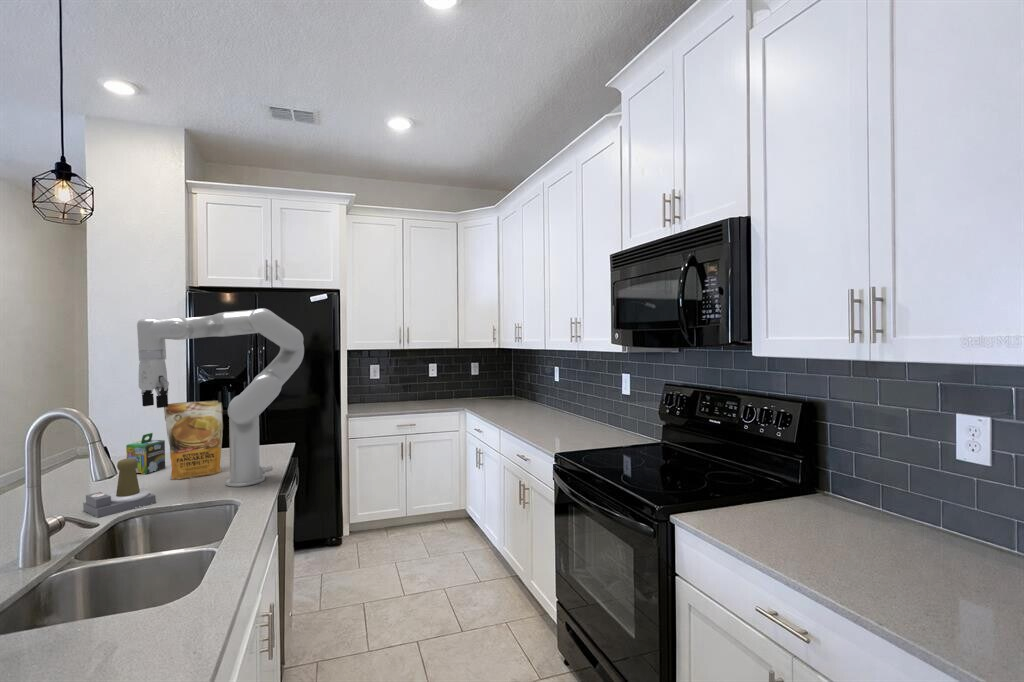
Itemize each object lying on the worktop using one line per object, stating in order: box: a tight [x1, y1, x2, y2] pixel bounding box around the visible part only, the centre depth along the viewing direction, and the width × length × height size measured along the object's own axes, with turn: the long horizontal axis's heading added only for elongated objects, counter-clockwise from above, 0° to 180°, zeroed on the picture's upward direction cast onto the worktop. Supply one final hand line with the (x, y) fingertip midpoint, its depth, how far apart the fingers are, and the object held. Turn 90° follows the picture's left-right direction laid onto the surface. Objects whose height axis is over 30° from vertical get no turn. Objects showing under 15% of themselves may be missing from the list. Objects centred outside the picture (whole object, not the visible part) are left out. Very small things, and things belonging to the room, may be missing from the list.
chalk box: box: [125, 432, 166, 475], centre depth 199 cm, size 9×9×15 cm
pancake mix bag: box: [163, 399, 224, 480], centre depth 192 cm, size 7×19×28 cm, turn 126°
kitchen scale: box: [82, 488, 157, 518], centre depth 157 cm, size 15×11×5 cm
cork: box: [115, 458, 140, 497], centre depth 159 cm, size 6×6×11 cm
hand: (155, 406), depth 170 cm, fingers open, 9 cm apart
